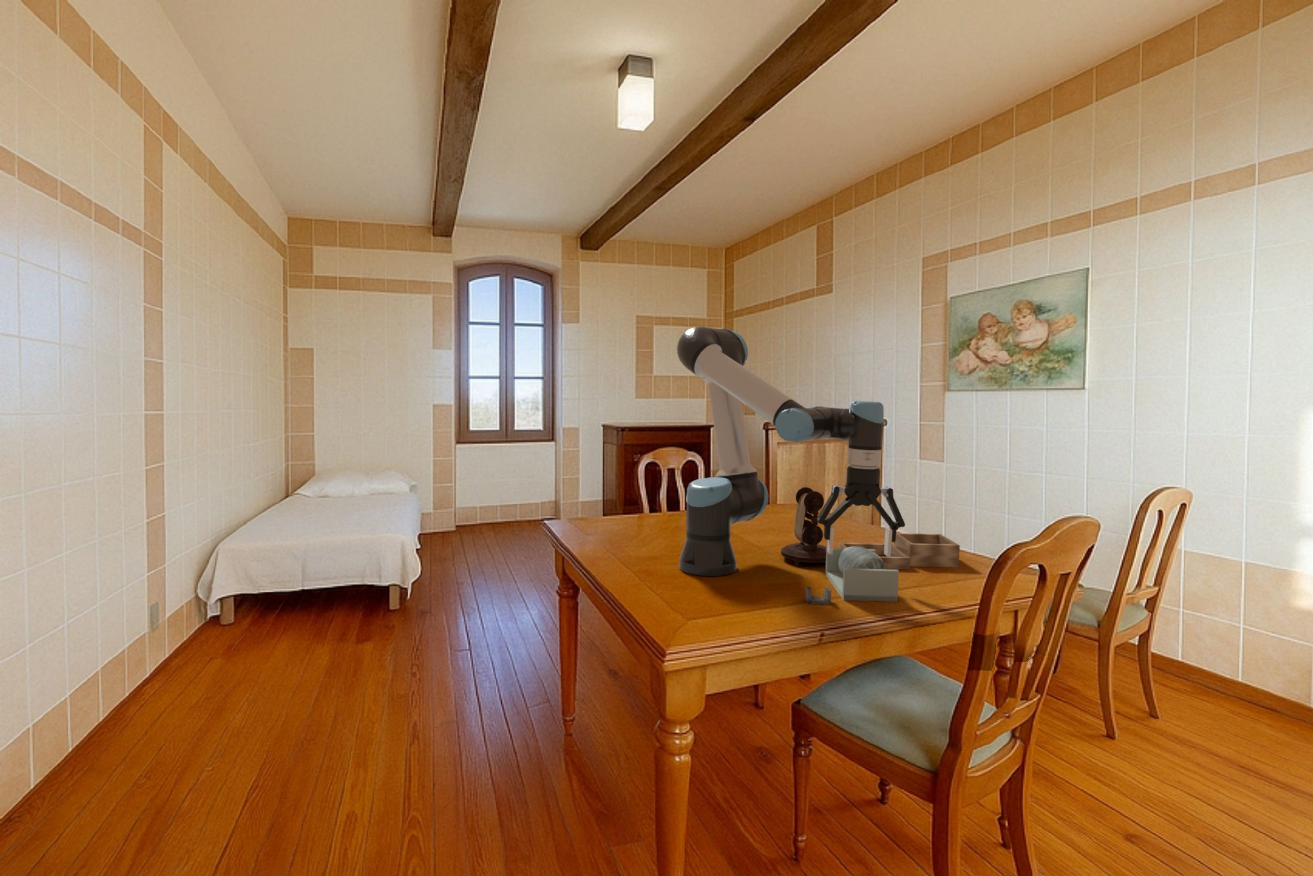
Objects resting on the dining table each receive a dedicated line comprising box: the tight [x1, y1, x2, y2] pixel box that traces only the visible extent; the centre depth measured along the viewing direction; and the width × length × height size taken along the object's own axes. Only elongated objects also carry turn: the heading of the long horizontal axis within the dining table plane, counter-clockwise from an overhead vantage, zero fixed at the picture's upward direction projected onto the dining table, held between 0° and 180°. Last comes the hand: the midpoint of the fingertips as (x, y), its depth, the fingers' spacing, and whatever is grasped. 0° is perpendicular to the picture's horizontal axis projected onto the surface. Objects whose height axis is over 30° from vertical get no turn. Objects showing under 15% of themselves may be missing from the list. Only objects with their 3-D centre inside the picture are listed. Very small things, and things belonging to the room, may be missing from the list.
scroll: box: [780, 486, 827, 567], centre depth 174 cm, size 15×15×20 cm
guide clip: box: [805, 585, 832, 605], centre depth 141 cm, size 5×3×3 cm, turn 87°
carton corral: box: [893, 532, 961, 568], centre depth 176 cm, size 13×13×6 cm
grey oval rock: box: [839, 546, 885, 575], centre depth 151 cm, size 14×10×10 cm
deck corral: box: [838, 542, 911, 570], centre depth 175 cm, size 15×15×3 cm
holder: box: [825, 547, 900, 603], centre depth 151 cm, size 12×19×7 cm, turn 177°
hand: (858, 554), depth 151 cm, fingers open, 13 cm apart
